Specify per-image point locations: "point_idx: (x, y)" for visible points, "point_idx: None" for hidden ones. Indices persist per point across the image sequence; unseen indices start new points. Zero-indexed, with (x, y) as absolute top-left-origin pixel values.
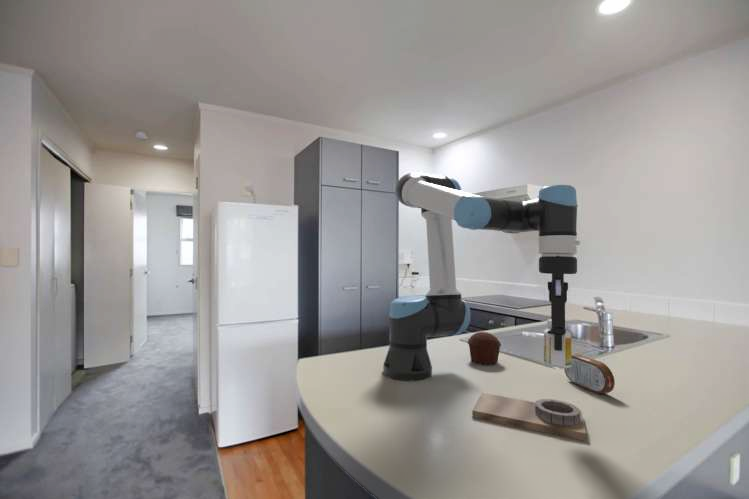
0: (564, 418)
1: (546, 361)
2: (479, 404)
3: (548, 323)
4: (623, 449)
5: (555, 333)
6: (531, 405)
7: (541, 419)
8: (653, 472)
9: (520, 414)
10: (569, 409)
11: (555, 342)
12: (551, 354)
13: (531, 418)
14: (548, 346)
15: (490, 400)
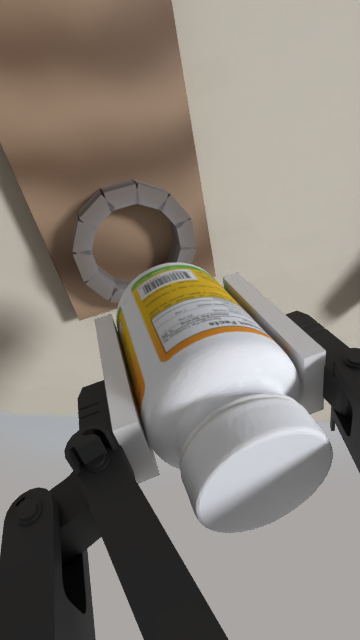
0: (85, 281)
1: (128, 292)
2: None
3: (212, 439)
4: (101, 364)
5: (58, 489)
6: (160, 155)
7: (73, 215)
8: (47, 410)
9: (55, 149)
10: None
11: (81, 426)
12: (101, 348)
13: (55, 189)
14: (136, 344)
15: None
